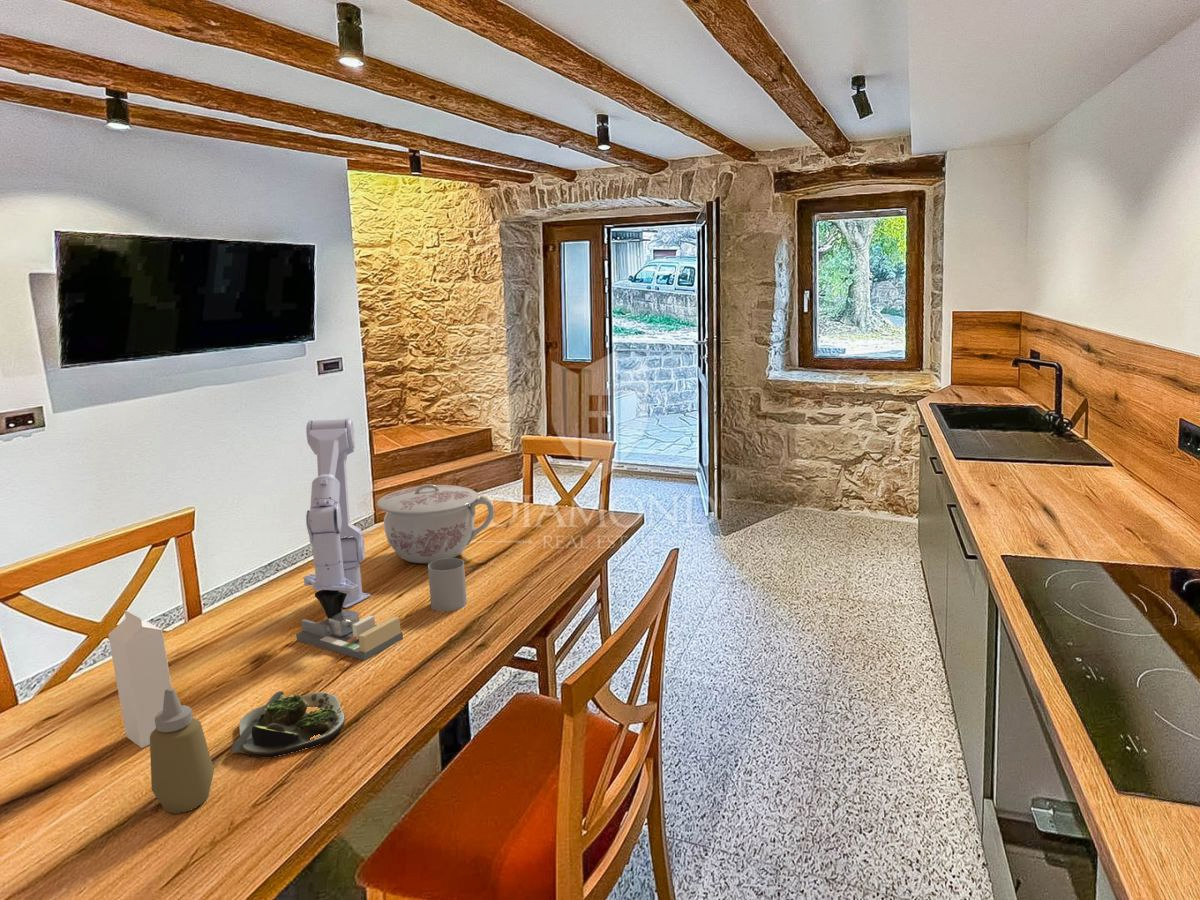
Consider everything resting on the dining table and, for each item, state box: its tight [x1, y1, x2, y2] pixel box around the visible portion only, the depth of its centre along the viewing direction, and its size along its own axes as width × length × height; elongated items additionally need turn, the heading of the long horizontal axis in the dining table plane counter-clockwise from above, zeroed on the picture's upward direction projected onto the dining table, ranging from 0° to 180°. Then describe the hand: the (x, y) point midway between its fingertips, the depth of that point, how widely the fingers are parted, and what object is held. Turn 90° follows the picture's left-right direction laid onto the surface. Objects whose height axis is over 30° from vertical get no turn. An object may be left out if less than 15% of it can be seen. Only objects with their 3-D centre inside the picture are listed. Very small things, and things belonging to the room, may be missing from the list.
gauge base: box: [295, 610, 404, 662], centre depth 163 cm, size 20×11×5 cm, turn 61°
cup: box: [427, 557, 468, 612], centre depth 179 cm, size 8×8×10 cm
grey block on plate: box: [329, 609, 360, 637], centre depth 162 cm, size 6×5×4 cm
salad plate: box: [230, 691, 346, 758], centre depth 131 cm, size 19×18×5 cm
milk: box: [108, 610, 172, 749], centre depth 127 cm, size 6×6×22 cm
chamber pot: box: [376, 483, 495, 565], centre depth 211 cm, size 28×28×21 cm
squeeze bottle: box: [149, 688, 215, 814], centre depth 110 cm, size 8×8×18 cm
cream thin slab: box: [347, 615, 376, 643], centre depth 159 cm, size 1×7×3 cm, turn 151°
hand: (334, 621), depth 164 cm, fingers closed
